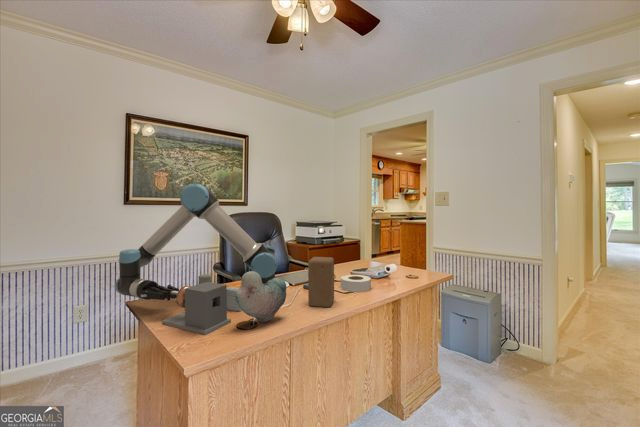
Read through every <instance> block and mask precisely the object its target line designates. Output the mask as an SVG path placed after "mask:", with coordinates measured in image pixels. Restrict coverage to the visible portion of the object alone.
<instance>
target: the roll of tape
mask: <svg viewBox="0 0 640 427" xmlns="http://www.w3.org/2000/svg"><path fill="white" fill-rule="evenodd" d="M371 279H372V277H370V276H368V275H367V276H366V275H362V274H345V275H343V276H340V288H341V290H343V291H346V292H351V293H363V292H364V293H365V292H368V291H370V290H372V288H371V287H372V280H371Z"/></svg>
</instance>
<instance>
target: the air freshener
mask: <svg viewBox="0 0 640 427" xmlns="http://www.w3.org/2000/svg"><path fill="white" fill-rule="evenodd" d="M212 279H213V278H212V274H210V273H206V274H205V273H204V274H200V275H198V284H202V283H205V282H210V283H213V280H212Z"/></svg>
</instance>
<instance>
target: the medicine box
mask: <svg viewBox="0 0 640 427" xmlns="http://www.w3.org/2000/svg"><path fill="white" fill-rule="evenodd" d="M226 288H227V311H232V312H233V311H235V312H243V311H242V310H241V309H240V307H239V305H238V303H237V301H236V298H235V293H236V291H237V290H238V289H239V288H240V287H234V286H229V287H226Z"/></svg>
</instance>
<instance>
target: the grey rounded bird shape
mask: <svg viewBox="0 0 640 427" xmlns="http://www.w3.org/2000/svg"><path fill="white" fill-rule="evenodd" d="M238 288H239V289H238V290H237V291H236V293H235V298H236V301H237V303H238V305H239V307H240V309H241V310H242V311H241V312H243V313H244V314H246V315H247V316H248V317H249V316H250V317H252V318H255V319H256V320H257V321H258V322H260V323H267V322H269V321H270V320H271V319H272V318H274V316H275V315H277V313H278V311H279V310H280V309H281V307H282V306H283V305H284V304H285V301H286V298H287V283H286V281H285V280H284V279H282V278H278V277H276V278H273V279H272V280H269V281H268V282H267V283H266V284H263V283H262V280H261V277H260V275H259V274H258V273H257V272H254V271H252V270H251V271H250V270H249V271H247V272H245V273H244V274H243V275H242V276H241V285H240V287H238Z"/></svg>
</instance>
